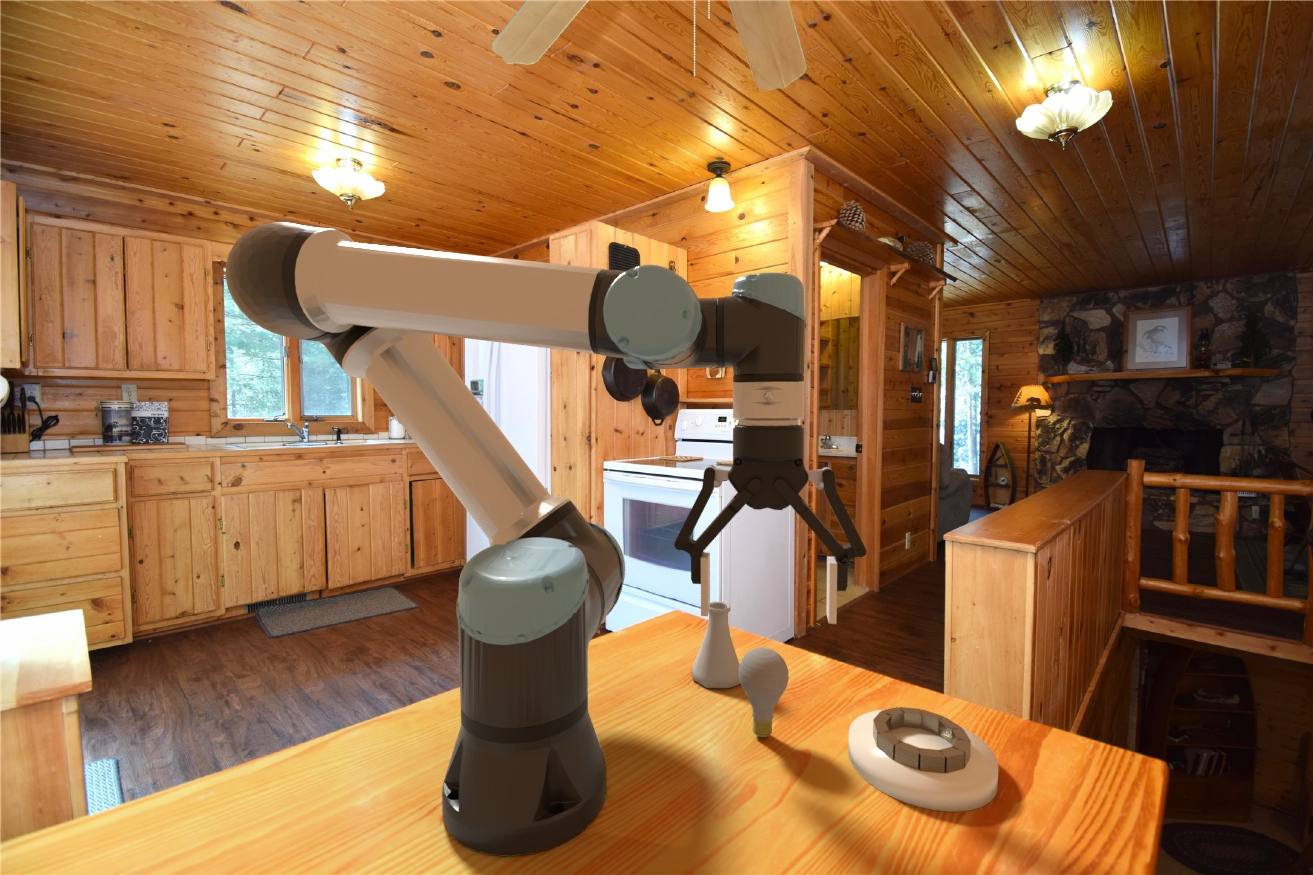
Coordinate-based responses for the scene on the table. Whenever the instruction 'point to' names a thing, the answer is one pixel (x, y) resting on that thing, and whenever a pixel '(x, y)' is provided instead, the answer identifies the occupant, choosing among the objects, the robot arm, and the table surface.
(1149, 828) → the table surface
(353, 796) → the table surface
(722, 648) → the flask
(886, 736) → the socket collar
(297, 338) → the robot arm
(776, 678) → the light bulb
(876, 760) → the socket base
